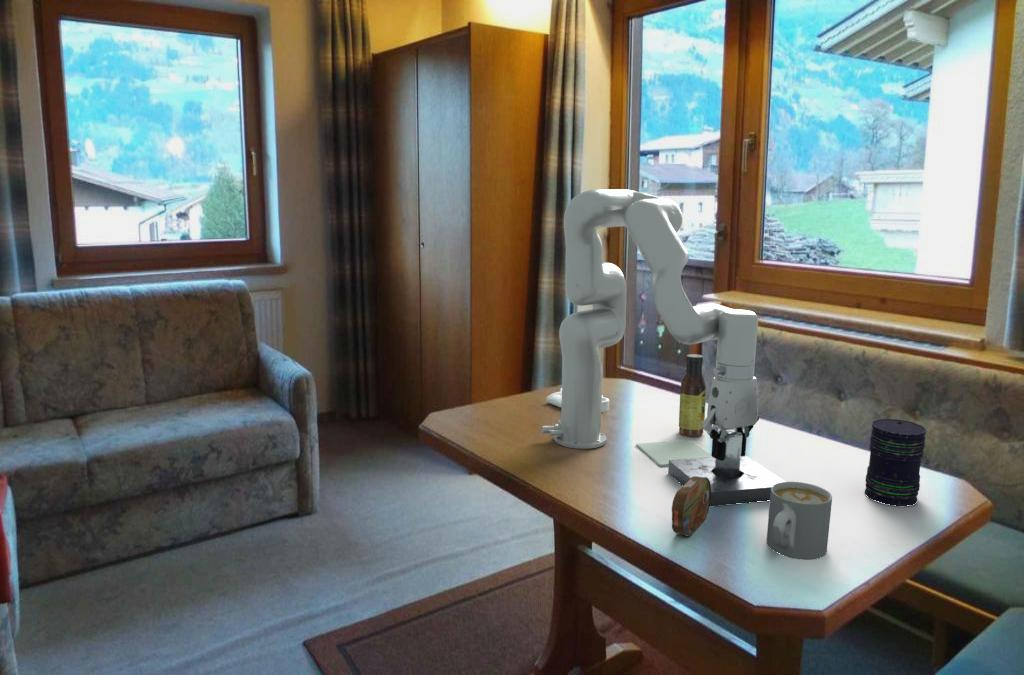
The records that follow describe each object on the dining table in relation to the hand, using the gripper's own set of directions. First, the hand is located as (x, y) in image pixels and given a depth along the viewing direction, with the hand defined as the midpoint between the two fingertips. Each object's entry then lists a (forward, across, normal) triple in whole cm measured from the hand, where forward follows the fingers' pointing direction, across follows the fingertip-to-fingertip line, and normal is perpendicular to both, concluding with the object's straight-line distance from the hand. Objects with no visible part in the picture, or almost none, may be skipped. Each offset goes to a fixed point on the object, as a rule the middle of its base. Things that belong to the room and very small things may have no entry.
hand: (728, 455), depth 163 cm
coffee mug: (+7, -10, -26) cm, 29 cm away
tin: (+7, -20, -11) cm, 24 cm away
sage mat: (+7, +3, +20) cm, 21 cm away
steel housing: (+7, 0, 0) cm, 7 cm away
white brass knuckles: (+7, +5, +63) cm, 63 cm away
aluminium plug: (+4, 0, 0) cm, 4 cm away
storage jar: (+7, +26, -19) cm, 33 cm away
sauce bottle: (+7, +16, +30) cm, 35 cm away
